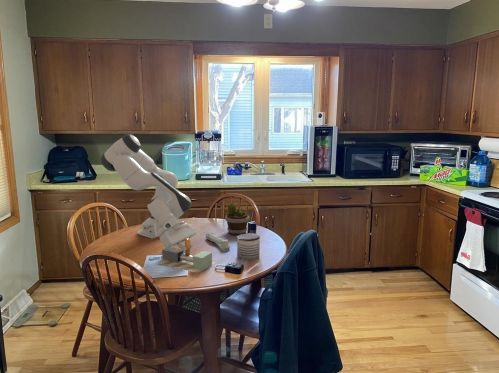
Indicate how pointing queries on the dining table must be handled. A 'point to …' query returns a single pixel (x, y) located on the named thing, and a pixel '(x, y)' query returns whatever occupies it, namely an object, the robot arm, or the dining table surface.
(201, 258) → the socket block
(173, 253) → the dark grey rectangular block
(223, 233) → the dining table surface
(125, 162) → the robot arm
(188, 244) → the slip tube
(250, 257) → the can
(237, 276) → the dining table surface
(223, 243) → the grey-green long bar
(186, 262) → the base board
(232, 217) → the flowerpot
